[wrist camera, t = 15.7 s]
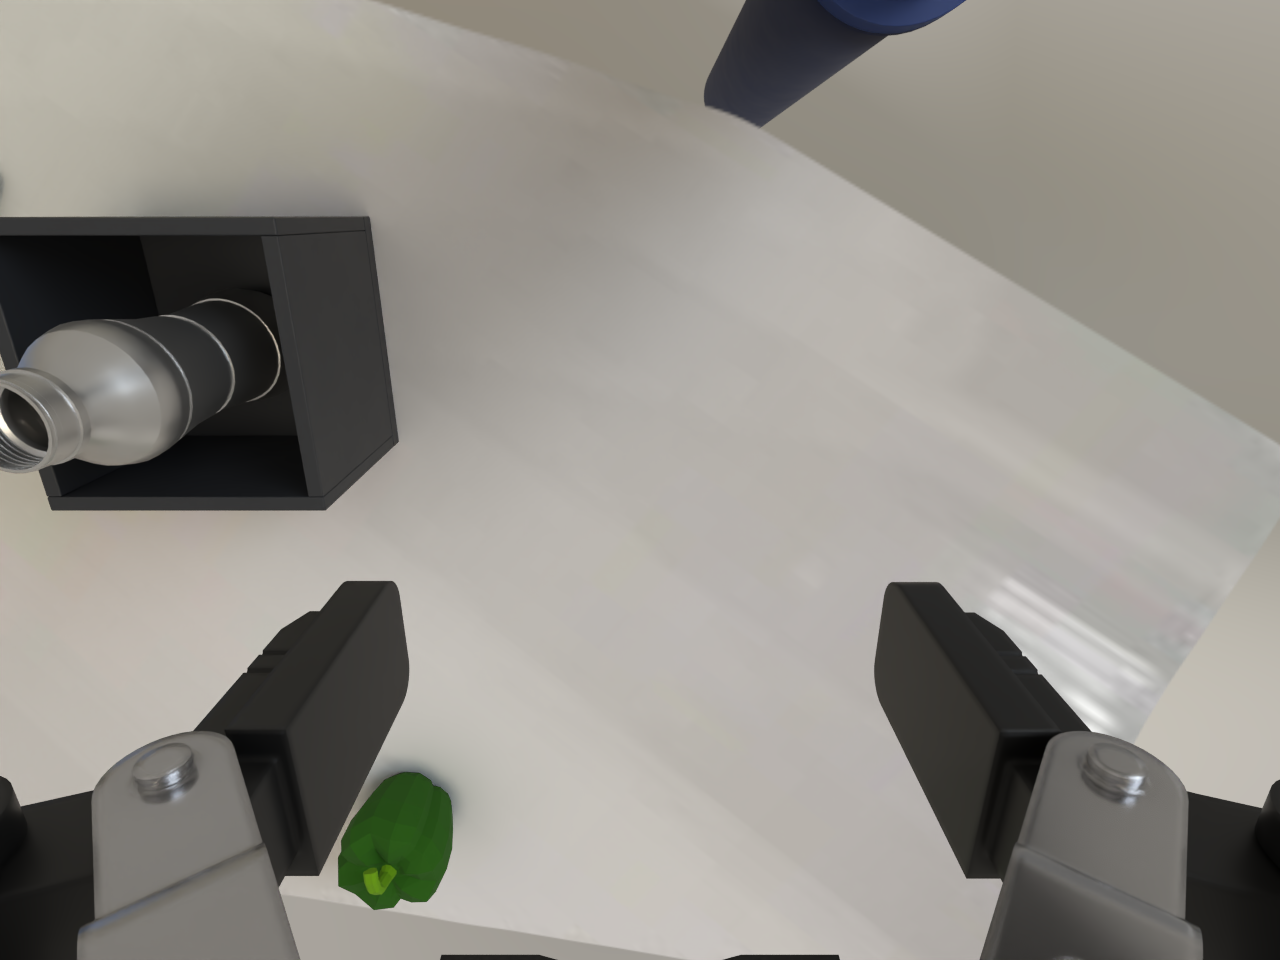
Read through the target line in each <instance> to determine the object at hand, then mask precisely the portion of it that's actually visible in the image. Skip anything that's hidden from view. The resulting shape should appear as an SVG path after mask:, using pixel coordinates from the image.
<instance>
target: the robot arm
mask: <svg viewBox="0 0 1280 960" xmlns="http://www.w3.org/2000/svg"><path fill="white" fill-rule="evenodd" d="M874 677H875V686H876V691H877V695H878V698H879V701H880V704H881V706H882V708H883V710H884V712H885V714H886V716H887V718H888V720H889V722H890V724H891V726H892V728H893V730H894V732H895V734H896V736H897V738H898V740H899V742H900V744H901V746H902V748H903V750H904V753H905V755H906V757H907V759H908V761H909V763H910V765H911V767H912V769H913V771H914V773H915V775H916V777H917V779H918V781H919V783H920V785H921V787H922V789H923V791H924V793H925V795H926V797H927V799H928V801H929V803H930V805H931V807H932V809H933V811H934V813H935V816H936V818H937V820H938V822H939V824H940V826H941V828H942V830H943V832H944V834H945V836H946V838H947V840H948V842H949V844H950V846H951V848H952V850H953V852H954V854H955V856H956V858H957V860H958V862H959V864H960V866H961V868H962V870H963V872H964V874H965V876H966V878H1001V880H1002V882H1003V885H1002V888H1001V891H1000V894H999V898H998V901H997V904H996V908H995V911H994V914H993V917H992V921H991V924H990V927H989V931H988V934H987V937H986V940H985V944H984V947H983V950H982V954H981V957H980V960H1280V780H1278V781H1276V782H1275V783H1274V784H1273V785H1272V787H1271V789H1270V791H1269V794H1268V796H1267V799H1266V801H1265V804H1264V806H1263V808H1258V807H1254V806H1249V805H1245V804H1240V803H1235V802H1231V801H1227V800H1222V799H1218V798H1213V797H1209V796H1204V795H1200V794H1195V793H1192V792H1187V791H1186V789H1185V787H1184V785H1183V783H1182V782H1181V781H1180V779H1179V778H1178V777H1177V776H1176V774H1175V773H1174V772H1173V771H1172V770H1171V769H1170V768H1169V767H1167V766H1166V765H1165V764H1164V763H1163V762H1161V761H1160V760H1159V759H1157V758H1156V757H1154V756H1153V755H1151V754H1150V753H1148V752H1146V751H1145V750H1143V749H1141V748H1139V747H1137V746H1135V745H1133V744H1131V743H1128V742H1126V741H1124V740H1121V739H1118V738H1115V737H1112V736H1109V735H1105V734H1100V733H1096V732H1091V731H1090V729H1089V728H1088V727H1087V726H1086V725H1085V724H1084V723H1083V721H1082V720H1081V719H1080V718H1079V717H1078V716H1077V715H1076V713H1075V712H1074V711H1073V710H1072V709H1071V708H1070V707H1069V705H1068V704H1067V703H1066V702H1065V701H1064V700H1063V699H1062V697H1061V696H1060V695H1059V694H1058V693H1057V692H1056V690H1055V689H1054V688H1053V687H1052V686H1051V685H1050V684H1049V682H1048V681H1047V680H1046V679H1045V678H1044V677H1043V676H1042V675H1038V672H1037V669H1036V668H1035V666H1034V665H1033V664H1032V663H1031V662H1030V661H1029V660H1028V658H1027V657H1026V656H1022V652H1021V650H1020V649H1019V648H1018V647H1017V646H1016V645H1015V644H1014V642H1013V641H1012V640H1011V639H1010V638H1009V637H1008V636H1007V634H1006V633H1005V632H1004V631H1003V630H1001V629H1000V628H998V627H997V626H995V625H993V624H992V623H990V622H989V621H987V620H985V619H984V618H982V617H981V616H979V615H977V614H976V613H965V612H964V611H963V610H962V609H961V608H960V606H959V605H958V604H957V603H956V601H955V600H954V599H953V598H952V597H951V595H950V594H949V593H948V592H947V590H946V589H945V588H944V587H943V586H942V585H941V584H940V583H938V582H891V583H890V584H889V585H888V586H887V588H886V591H885V595H884V601H883V608H882V615H881V622H880V629H879V636H878V643H877V650H876V657H875V665H874ZM408 681H409V659H408V652H407V644H406V637H405V630H404V623H403V616H402V609H401V602H400V595H399V591H398V588H397V585H396V584H395V583H394V582H393V581H346V582H344V583H343V584H342V585H341V586H340V587H339V588H338V589H337V591H336V592H335V593H334V594H333V596H332V597H331V598H330V599H329V601H328V602H327V603H326V604H325V606H324V607H323V608H322V609H321V610H320V611H310V612H308V613H306V614H305V615H303V616H302V617H300V618H298V619H297V620H295V621H294V622H292V623H291V624H289V625H287V626H286V627H284V628H283V629H281V630H280V631H279V632H278V634H277V635H276V636H275V637H274V638H273V639H272V641H271V642H270V643H269V644H268V645H267V646H266V647H265V649H264V650H263V654H262V655H259V656H258V657H257V658H256V659H255V660H254V661H253V662H252V664H251V665H250V666H249V667H248V671H247V673H243V674H242V675H241V676H240V677H239V679H238V680H237V681H236V682H235V683H234V684H233V686H232V687H231V688H230V689H229V690H228V691H227V692H226V694H225V695H224V696H223V697H222V698H221V699H220V701H219V702H218V703H217V704H216V705H215V706H214V708H213V709H212V710H211V711H210V712H209V713H208V714H207V716H206V717H205V718H204V719H203V720H202V721H201V723H200V724H199V725H198V726H197V727H196V728H195V729H194V731H192V732H184V733H180V734H175V735H171V736H168V737H165V738H162V739H159V740H156V741H154V742H152V743H149V744H147V745H145V746H143V747H141V748H139V749H137V750H135V751H134V752H132V753H130V754H129V755H127V756H126V757H124V758H123V759H121V760H120V761H119V762H117V763H116V764H115V765H114V766H113V767H111V768H110V769H109V770H108V771H107V772H106V773H105V774H104V775H103V777H102V778H101V779H100V780H99V782H98V783H97V785H96V787H95V789H94V790H93V791H89V792H84V793H80V794H75V795H71V796H66V797H62V798H57V799H53V800H48V801H44V802H39V803H35V804H30V805H26V806H21V807H20V804H19V802H18V799H17V797H16V794H15V792H14V790H13V787H12V785H11V783H10V782H9V781H8V780H7V779H6V778H4V777H1V776H0V960H300V957H299V954H298V950H297V947H296V944H295V941H294V937H293V934H292V931H291V927H290V924H289V921H288V918H287V914H286V911H285V908H284V904H283V901H282V898H281V894H280V891H279V886H280V884H281V882H282V880H283V879H284V877H285V876H319V874H320V872H321V870H322V868H323V866H324V864H325V862H326V860H327V858H328V856H329V854H330V852H331V850H332V848H333V846H334V843H335V841H336V839H337V837H338V835H339V833H340V831H341V829H342V827H343V825H344V823H345V821H346V819H347V817H348V815H349V813H350V811H351V808H352V806H353V804H354V802H355V800H356V798H357V796H358V794H359V792H360V790H361V788H362V786H363V784H364V782H365V780H366V778H367V776H368V774H369V771H370V769H371V767H372V765H373V763H374V761H375V759H376V757H377V755H378V753H379V751H380V749H381V747H382V745H383V743H384V741H385V739H386V736H387V734H388V732H389V730H390V728H391V726H392V724H393V722H394V720H395V718H396V716H397V714H398V712H399V710H400V708H401V706H402V704H403V701H404V699H405V696H406V692H407V687H408ZM440 960H556V959H552V958H548V957H545V956H541V955H441V959H440ZM724 960H840V959H839V955H739V956H735V957H731V958H728V959H724Z"/></svg>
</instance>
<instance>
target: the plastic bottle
mask: <svg viewBox="0 0 1280 960" xmlns="http://www.w3.org/2000/svg"><path fill="white" fill-rule="evenodd" d="M288 388H289V387H288V381H287V376H286V370H285V365H284V359H283V354H282V348H281V343H280V337H279V332H278V327H277V321H276V316H275V310H274V305H273V299H272V297H271V296H270V295H267V294H264V293H261V292H258V291H252V290H244V289H225V290H221V291H217V292H215V293H213V294H210V295H208V296H206V297H204V298H202V299H200V300H199V301H197V302H195V303H194V304H193V305H191V306H189V307H187V308H184V309H182V310H179V311H176V312H174V313H171V314H168V315H161V316H154V317H147V318H140V319H93V320H81V321H72V322H68V323H64V324H60V325H58V326H56V327H54V328H52V329H50V330H49V331H47V332H46V333H44V334H43V335H42V336H40V337H39V338H38V339H36V340H35V341H34V342H33V343H32V344H31V345H30V346H29V347H28V348H27V350H26V351H25V353H24V355H23V357H22V358H21V361H20V363H19V365H18V367H17V368H14V369H10V370H6V371H2V372H0V470H2V471H5V472H11V473H27V472H33V471H37V470H40V469H42V468H45V467H47V466H50V465H57V464H61V463H64V462H67V461H69V460H72V459H74V458H76V459H80V460H83V461H87V462H90V463H94V464H100V465H107V466H108V465H127V464H136V463H141V462H145V461H149V460H151V459H153V458H155V457H157V456H159V455H160V454H161V453H163V452H164V451H166V450H168V449H169V448H170V447H172V446H173V445H174V444H175V443H176V442H178V441H179V440H180V439H181V438H182V437H183V436H185V435H186V434H187V433H188V432H189V431H191V430H192V429H193V428H194V427H195V426H197V425H198V424H199V423H201V422H203V421H204V420H206V419H208V418H209V417H211V416H213V415H214V414H215V413H217V412H219V411H221V410H223V409H225V408H228V407H231V406H234V405H237V404H240V403H243V402H251V401H257V400H261V399H266V398H270V397H274V396H276V395H278V394H281V393H283V392H284V391H285V390H287V389H288Z"/></svg>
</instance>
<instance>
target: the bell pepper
mask: <svg viewBox="0 0 1280 960" xmlns="http://www.w3.org/2000/svg"><path fill="white" fill-rule="evenodd" d="M452 838H453V816H452V806H451V800H450V798H449V795H448V794H447V793H446V792H445V791H444V790H443V789H442V788H441V787H437V786H433V784H432V782H431V780H430V779H428V778H426V777H425V776H423V775H422V774H420V773H410V772H403V773H400V774H397V775H395V776H392V777H390V778H388V779H386V780H384V781H383V782H382V783H381V784H380V786H379V787H378V788H377V789H376V790H375V791H374V792H373V794H372V795H371V796H370V797H369V799H368V800H367V801H366V802H365V804H364V805H363V806H362V808H361V809H360V810H359V811H358V813H357V814H356V815H355V816H354V818H353V819H352V820H351V822H350V824H349V826H348V828H347V830H346V832H345V834H344V836H343V838H342V840H341V853H340V855H339V857H338V886H339V887H341V888H343V889H345V890H348V891H350V892H352V893H354V894H356V895H357V896H358V897H359V898H361V899H362V900H363V901H364V902H365V903H366V904H368V905H369V906H370V907H371V908H372V909H373V910H378V909H386V908H394V906H395V905H396V904H397V903H398V901H399V900H400V899H403V900H406V901H409V902H427V901H428V900H429V899H430V898H431V896H432V895H433V894H434V893H435V892H436V890H437V888H438V886H439V884H440V882H441V880H442V878H443V876H444V873H445V871H446V869H447V866H448V862H449V858H450V855H451V851H452Z"/></svg>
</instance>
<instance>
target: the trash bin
mask: <svg viewBox="0 0 1280 960" xmlns="http://www.w3.org/2000/svg"><path fill="white" fill-rule="evenodd" d="M225 289H244V290H252V291H258V292H261V293H264V294H267V295H270V296H271V297H272V299H273V305H274V310H275V316H276V321H277V327H278V332H279V337H280V343H281V348H282V354H283V359H284V365H285V370H286V376H287V381H288V387H289V388H288V389H287V390H285V391H284V392H283V393H281V394H278V395H276V396H274V397H270V398H266V399H261V400H257V401H251V402H243V403H240V404H237V405H234V406H231V407H228V408H225V409H223V410H221V411H219V412H217V413H215V414H214V415H213V416H211V417H209V418H208V419H206V420H204V421H203V422H201V423H199V424H198V425H197V426H195V427H194V428H193V429H192V430H191V431H189V432H188V433H187V434H186V435H185V436H183V437H182V438H181V439H180V440H179V441H178V442H176V443H175V444H174V445H173V446H172V447H170V448H169V449H168V450H166V451H164V452H163V453H161V454H160V455H159V456H157V457H155V458H153V459H151V460H149V461H145V462H141V463H136V464H127V465H108V466H107V465H100V464H94V463H90V462H87V461H83V460H80V459H76V458H74V459H72V460H69V461H67V462H64V463H61V464H57V465H50V466H47V467H45V468H42V469H40V470H39V473H40V476H41V479H42V482H43V485H44V488H45V491H46V494H47V496H49V497H48V501H49V504H50V507H51V510H326V509H327V508H329V507H330V506H331V505H332V504H333V503H334V502H335V501H336V500H337V499H338V498H339V497H340V496H341V495H342V494H343V493H344V492H346V491H347V490H348V489H349V488H350V487H351V486H352V485H353V484H354V483H355V482H356V481H357V480H358V479H359V478H360V477H361V476H363V475H364V474H365V473H366V472H367V471H368V470H369V469H370V468H371V467H372V466H373V465H374V464H375V463H376V462H377V461H379V460H380V459H381V458H382V457H383V456H384V455H385V454H386V453H387V452H388V451H389V450H390V449H391V448H392V447H393V446H395V445H396V444H397V443H398V434H397V426H396V419H395V411H394V403H393V395H392V388H391V380H390V372H389V365H388V357H387V349H386V341H385V334H384V326H383V318H382V311H381V303H380V295H379V287H378V280H377V272H376V264H375V256H374V249H373V241H372V233H371V226H370V218H369V217H0V354H1V357H2V360H3V363H4V366H5V369H6V370H10V369H14V368H17V367H18V365H19V363H20V361H21V358H22V357H23V355H24V353H25V351H26V350H27V348H28V347H29V346H30V345H31V344H32V343H33V342H34V341H35V340H36V339H38V338H39V337H40V336H42V335H43V334H44V333H46V332H47V331H49V330H50V329H52V328H54V327H56V326H58V325H60V324H64V323H68V322H72V321H81V320H93V319H140V318H147V317H154V316H161V315H168V314H171V313H174V312H176V311H179V310H182V309H184V308H187V307H189V306H191V305H193V304H194V303H195V302H197V301H199V300H200V299H202V298H204V297H206V296H208V295H210V294H213V293H215V292H217V291H221V290H225Z"/></svg>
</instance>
